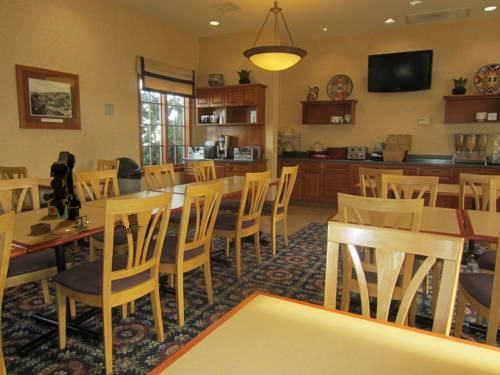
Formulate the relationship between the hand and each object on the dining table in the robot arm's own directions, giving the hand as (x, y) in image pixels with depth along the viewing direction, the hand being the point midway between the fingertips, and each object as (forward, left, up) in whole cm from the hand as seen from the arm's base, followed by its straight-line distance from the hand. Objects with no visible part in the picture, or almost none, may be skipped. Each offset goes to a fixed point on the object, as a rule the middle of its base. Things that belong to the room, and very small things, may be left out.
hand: (62, 215), depth 199 cm
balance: (-11, -1, -9) cm, 14 cm away
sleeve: (+7, -10, -9) cm, 15 cm away
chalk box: (-21, -45, -9) cm, 50 cm away
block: (0, 0, -2) cm, 2 cm away
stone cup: (-30, +15, -9) cm, 35 cm away
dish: (0, 0, -9) cm, 9 cm away
